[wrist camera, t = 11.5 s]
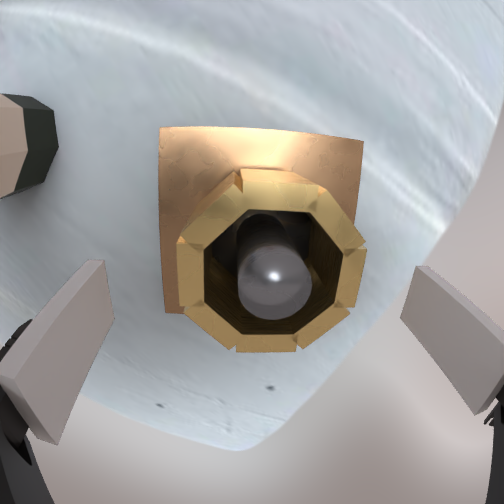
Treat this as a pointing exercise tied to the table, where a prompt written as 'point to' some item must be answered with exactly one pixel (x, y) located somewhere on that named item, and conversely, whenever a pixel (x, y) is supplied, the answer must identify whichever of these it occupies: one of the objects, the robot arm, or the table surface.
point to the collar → (318, 261)
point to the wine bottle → (25, 143)
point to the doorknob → (253, 220)
